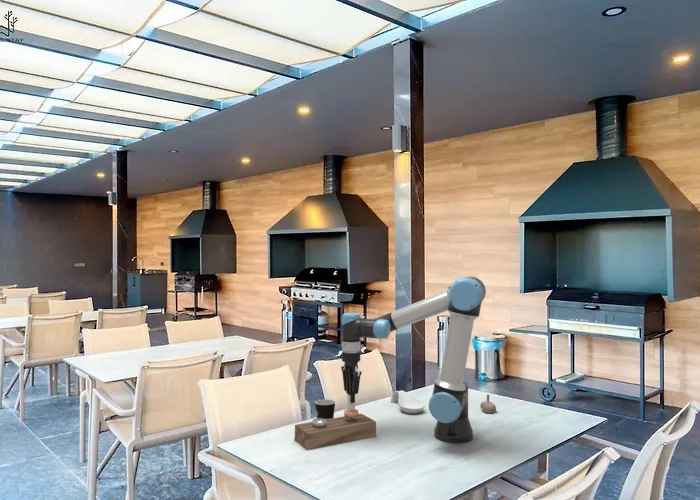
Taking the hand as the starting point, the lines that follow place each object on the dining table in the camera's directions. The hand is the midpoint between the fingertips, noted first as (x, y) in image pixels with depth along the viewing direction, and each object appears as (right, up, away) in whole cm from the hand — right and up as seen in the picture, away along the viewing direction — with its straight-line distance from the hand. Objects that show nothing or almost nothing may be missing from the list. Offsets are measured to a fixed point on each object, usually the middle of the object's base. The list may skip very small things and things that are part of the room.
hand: (351, 410), depth 206 cm
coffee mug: (-11, -11, +13) cm, 20 cm away
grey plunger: (-12, -10, -7) cm, 17 cm away
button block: (-6, -10, -4) cm, 12 cm away
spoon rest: (+26, -11, +37) cm, 47 cm away
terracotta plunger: (0, -8, 0) cm, 8 cm away
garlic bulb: (+64, -11, +31) cm, 72 cm away
